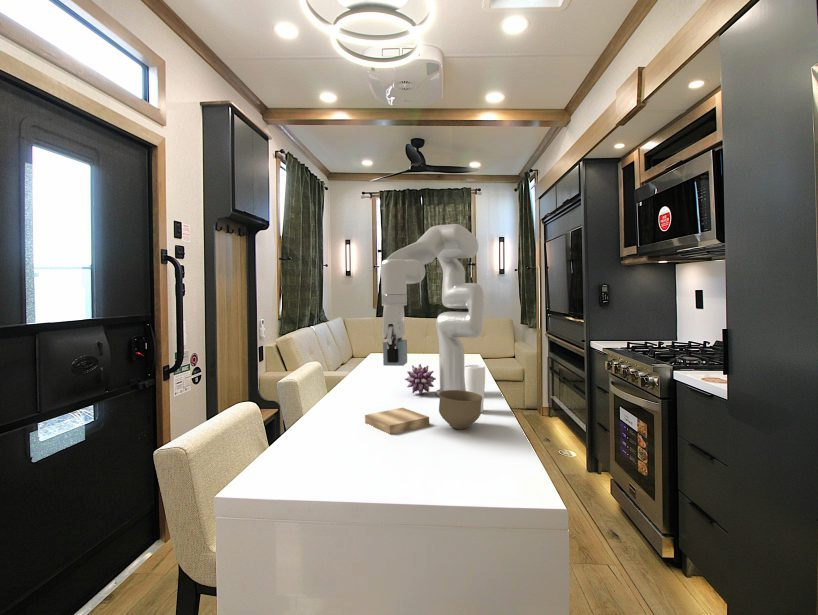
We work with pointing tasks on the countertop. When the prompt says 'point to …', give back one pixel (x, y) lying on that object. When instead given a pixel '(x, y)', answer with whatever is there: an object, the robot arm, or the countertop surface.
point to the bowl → (459, 407)
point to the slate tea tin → (401, 353)
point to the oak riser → (396, 420)
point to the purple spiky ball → (420, 379)
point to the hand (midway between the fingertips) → (395, 359)
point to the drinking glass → (475, 380)
